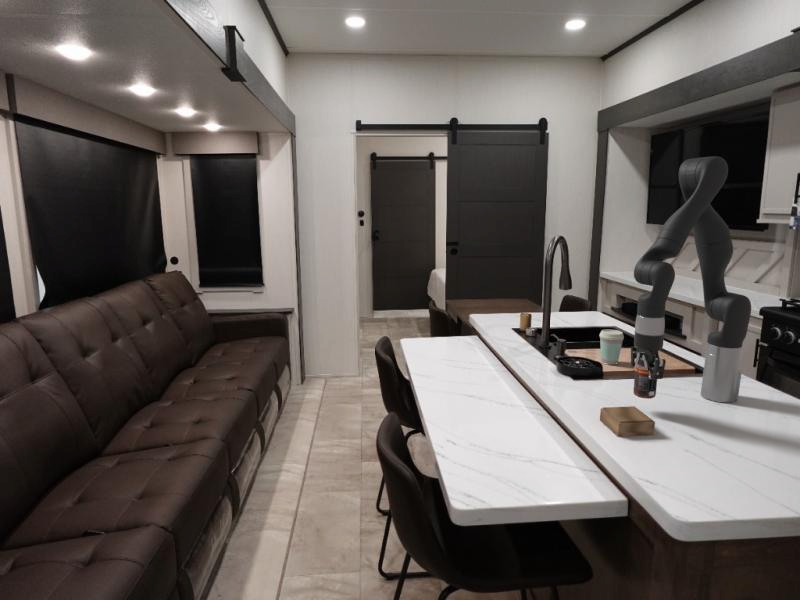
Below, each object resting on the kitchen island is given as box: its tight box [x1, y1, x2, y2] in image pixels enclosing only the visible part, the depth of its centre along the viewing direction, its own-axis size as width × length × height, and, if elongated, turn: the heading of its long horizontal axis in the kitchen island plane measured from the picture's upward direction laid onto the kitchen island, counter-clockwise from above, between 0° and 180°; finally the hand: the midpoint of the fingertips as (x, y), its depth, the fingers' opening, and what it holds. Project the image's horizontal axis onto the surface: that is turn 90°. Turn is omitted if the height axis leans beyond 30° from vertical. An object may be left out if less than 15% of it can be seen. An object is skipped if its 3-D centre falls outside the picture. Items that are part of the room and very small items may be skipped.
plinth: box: [599, 405, 656, 437], centre depth 144 cm, size 10×10×4 cm
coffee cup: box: [598, 329, 625, 364], centre depth 199 cm, size 8×8×12 cm
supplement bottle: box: [633, 357, 658, 399], centre depth 153 cm, size 6×6×11 cm
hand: (644, 386), depth 154 cm, fingers closed on supplement bottle, 6 cm apart
